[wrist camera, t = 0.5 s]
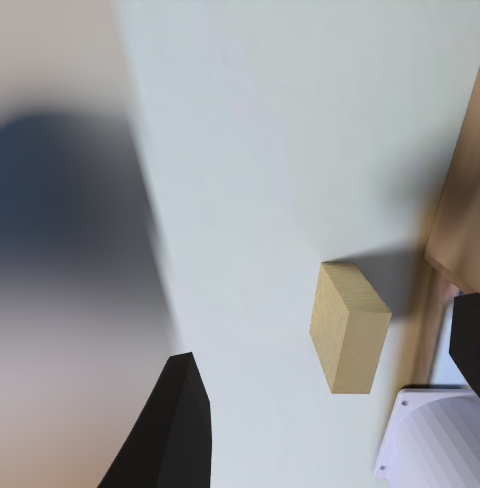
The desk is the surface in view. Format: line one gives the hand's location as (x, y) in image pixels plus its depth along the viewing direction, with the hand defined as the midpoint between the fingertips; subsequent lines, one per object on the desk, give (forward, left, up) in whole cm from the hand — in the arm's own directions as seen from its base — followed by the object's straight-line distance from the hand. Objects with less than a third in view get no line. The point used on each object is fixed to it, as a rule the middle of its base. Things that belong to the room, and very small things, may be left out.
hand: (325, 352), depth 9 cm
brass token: (-5, -4, -10) cm, 12 cm away
